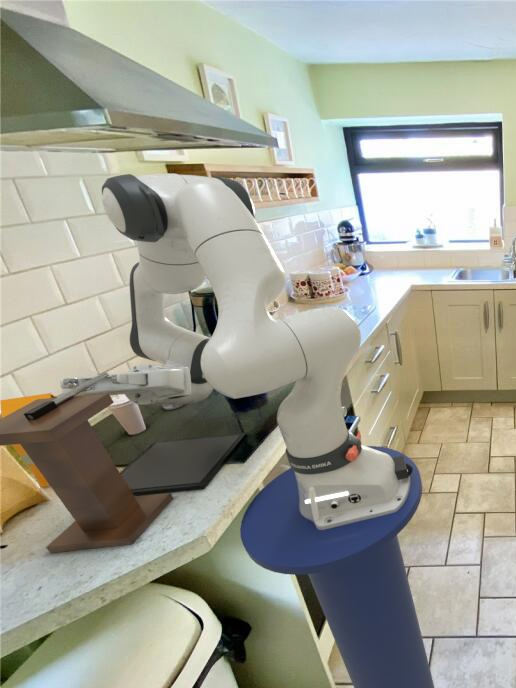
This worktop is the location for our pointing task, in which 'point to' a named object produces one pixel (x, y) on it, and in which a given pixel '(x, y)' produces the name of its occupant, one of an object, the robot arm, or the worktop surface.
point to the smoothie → (127, 414)
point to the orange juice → (6, 409)
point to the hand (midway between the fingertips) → (90, 381)
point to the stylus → (61, 398)
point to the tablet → (180, 464)
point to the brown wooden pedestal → (82, 474)
